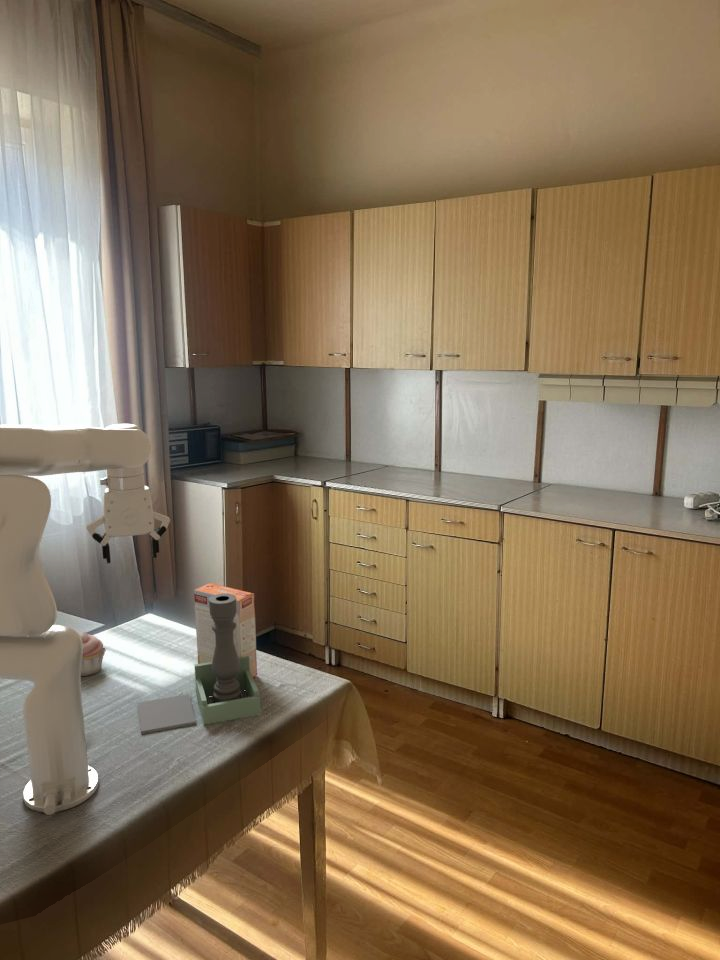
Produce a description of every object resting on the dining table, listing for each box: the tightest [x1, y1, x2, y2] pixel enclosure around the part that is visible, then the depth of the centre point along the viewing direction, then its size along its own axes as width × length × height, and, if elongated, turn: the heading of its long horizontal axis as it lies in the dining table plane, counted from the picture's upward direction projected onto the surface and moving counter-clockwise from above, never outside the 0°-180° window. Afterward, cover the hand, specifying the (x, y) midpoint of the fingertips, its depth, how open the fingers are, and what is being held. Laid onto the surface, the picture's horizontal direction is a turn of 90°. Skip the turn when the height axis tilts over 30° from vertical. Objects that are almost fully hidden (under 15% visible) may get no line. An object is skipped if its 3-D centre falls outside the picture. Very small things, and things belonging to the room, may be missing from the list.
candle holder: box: [209, 593, 243, 704], centre depth 157 cm, size 6×6×25 cm
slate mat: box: [137, 693, 197, 735], centre depth 156 cm, size 12×11×1 cm
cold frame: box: [194, 656, 261, 726], centre depth 159 cm, size 12×12×8 cm
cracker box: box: [193, 582, 258, 678], centre depth 172 cm, size 14×6×21 cm, turn 58°
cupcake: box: [78, 631, 107, 677], centre depth 175 cm, size 9×9×10 cm
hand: (131, 558), depth 160 cm, fingers open, 9 cm apart
